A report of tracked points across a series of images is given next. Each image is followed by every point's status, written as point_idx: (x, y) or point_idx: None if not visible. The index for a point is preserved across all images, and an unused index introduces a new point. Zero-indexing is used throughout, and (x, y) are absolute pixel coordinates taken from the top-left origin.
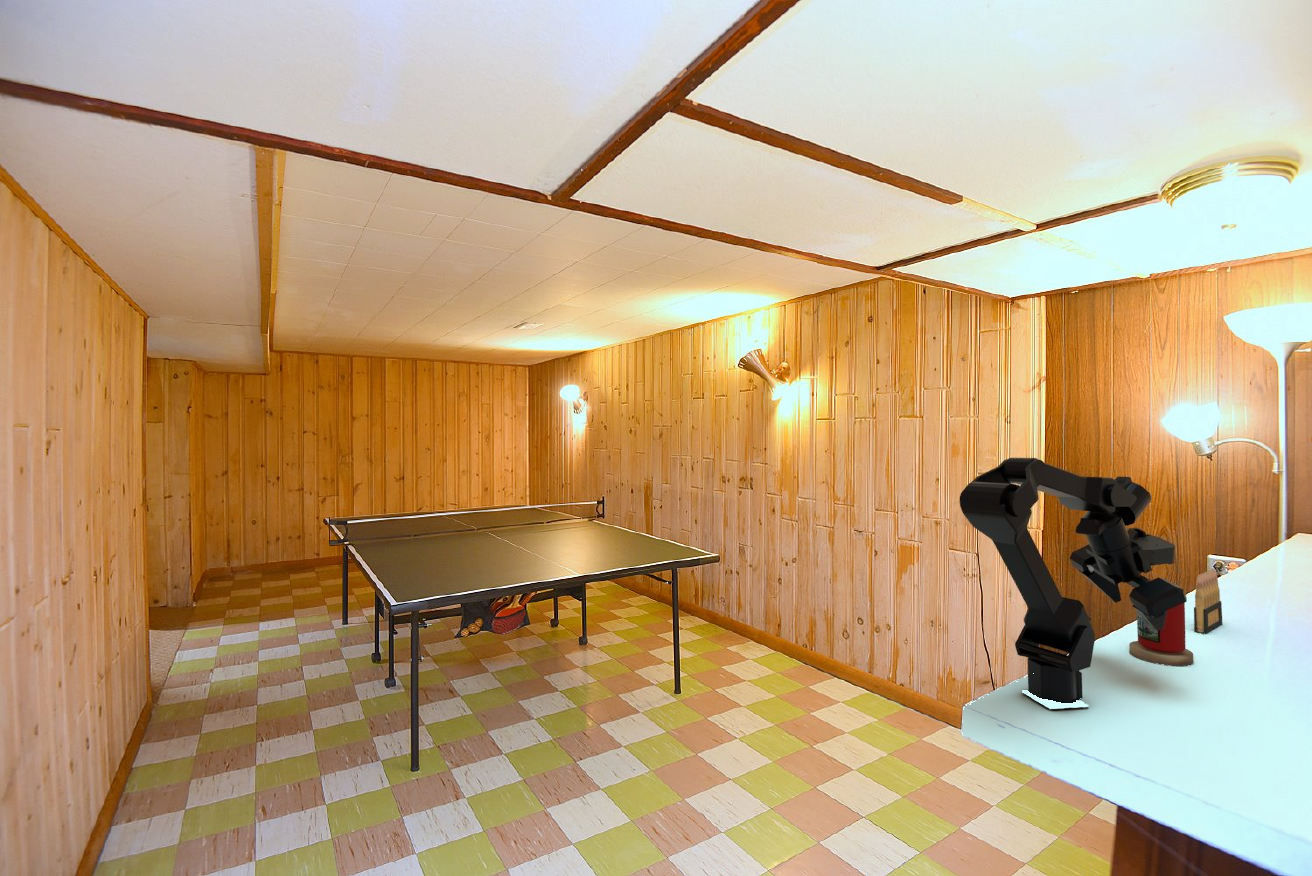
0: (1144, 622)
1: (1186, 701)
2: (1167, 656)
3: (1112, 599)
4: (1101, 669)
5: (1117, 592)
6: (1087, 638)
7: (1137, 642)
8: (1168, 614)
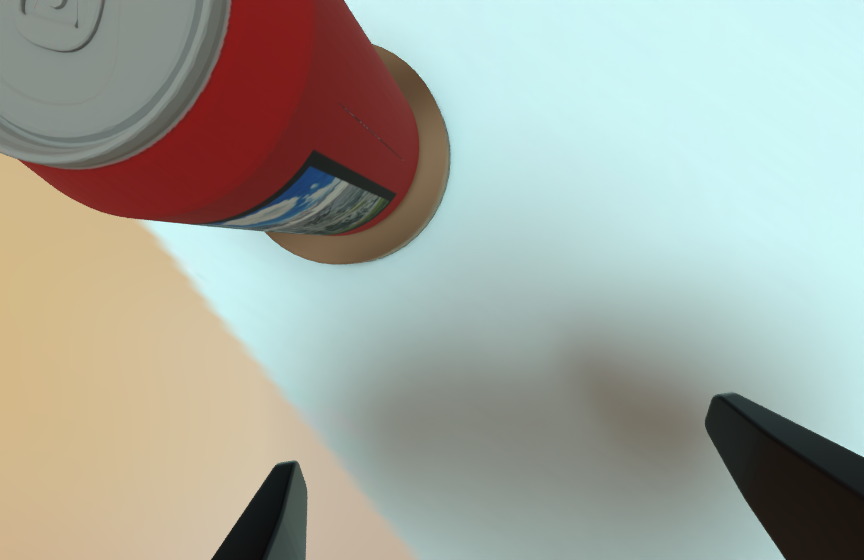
0: (310, 229)
1: (830, 380)
2: (431, 187)
3: (304, 544)
4: (498, 477)
5: (280, 553)
6: None
7: None
8: (362, 116)
